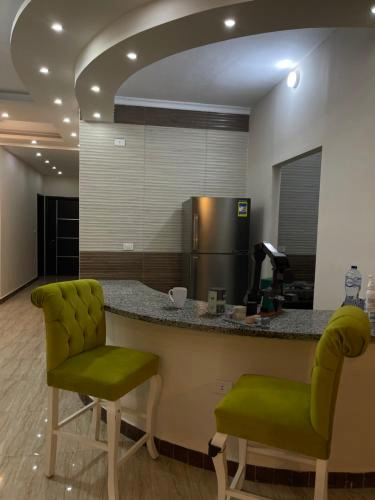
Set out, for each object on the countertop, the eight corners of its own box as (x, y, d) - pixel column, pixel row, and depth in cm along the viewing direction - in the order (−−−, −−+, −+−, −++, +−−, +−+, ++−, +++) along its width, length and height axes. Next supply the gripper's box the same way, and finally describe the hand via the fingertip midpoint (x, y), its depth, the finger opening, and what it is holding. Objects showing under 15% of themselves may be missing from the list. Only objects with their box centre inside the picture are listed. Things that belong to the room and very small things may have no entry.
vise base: (234, 316, 202) (234, 310, 202) (265, 323, 188) (265, 317, 187) (222, 319, 195) (222, 312, 195) (253, 327, 181) (253, 320, 180)
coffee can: (226, 311, 214) (227, 287, 213) (224, 315, 204) (225, 290, 203) (208, 310, 216) (209, 286, 215) (206, 313, 206) (207, 289, 205)
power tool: (281, 305, 237) (283, 275, 236) (291, 307, 232) (293, 276, 231) (257, 313, 212) (259, 279, 211) (268, 315, 208) (270, 280, 207)
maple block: (232, 318, 193) (232, 307, 192) (239, 316, 197) (239, 305, 197) (238, 320, 190) (239, 308, 190) (245, 318, 194) (245, 307, 194)
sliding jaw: (255, 319, 191) (255, 313, 191) (272, 323, 184) (272, 317, 184) (245, 322, 185) (245, 316, 185) (262, 326, 178) (262, 320, 178)
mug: (188, 307, 222) (189, 288, 222) (181, 309, 215) (181, 290, 215) (172, 304, 229) (172, 286, 228) (164, 306, 222) (165, 287, 221)
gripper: (252, 279, 177) (250, 311, 178) (286, 284, 164) (285, 319, 165) (265, 278, 185) (263, 308, 186) (299, 282, 172) (297, 315, 173)
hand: (276, 312), depth 177 cm, fingers closed
